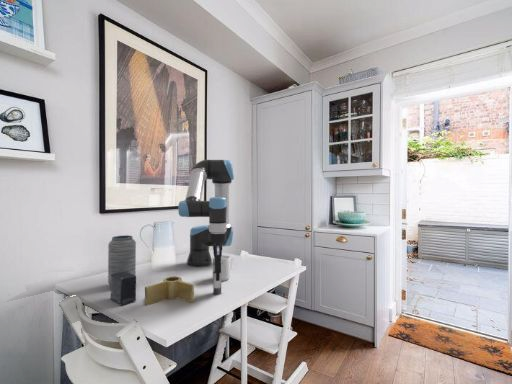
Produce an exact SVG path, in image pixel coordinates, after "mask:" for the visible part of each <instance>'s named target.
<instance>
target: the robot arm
mask: <svg viewBox="0 0 512 384" xmlns="http://www.w3.org/2000/svg"><path fill="white" fill-rule="evenodd" d="M207 180H211V183H212V185H214V197H213V196H212V197H210V198H209V200H202V196H203V191H204V185H205V181H207ZM233 180H235V175H234V166H233V162H232V160H229V159H203V160H200V161H198V162H197V163H196V164H194V166H192V168H191V170H190V172H189V184H188V187H187V192H186V195H185V200H181V201H179V202H178V215H179V217H182V218H183V217H184V218H208V223H209V224H206V225H197V226H194V227H191V228H190V232H189V254H188V257H187V259H186V265H187V266H190V267H205V266H209V265H212V264H213V258H212V256H211V252H210V247H212V250H213V251H212V253H213V257H214V260H215V272H213V271H212V274H213V273H214V288H221V289H222V281H221V269H222V267H221V256H222V255H223V247H230V246H231V245H232V243H233V237H234V227H232V224H231V223H230V209H229V208H230V185H231V184H232V182H233Z"/></svg>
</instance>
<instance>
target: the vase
mask: <svg viewBox="0 0 512 384" xmlns="http://www.w3.org/2000/svg"><path fill="white" fill-rule="evenodd" d="M136 247H137V243H136V240H135V239H134V238H133V235H128V234H126V235H116V236H112V238H111V240H110V241H109V242H108V246H107V248H108V250H107V251H108V252H107V253H108V254H107V255H108V256H107V260H108V261H107V264H108V265H107V269H108V270H107V283H108V284H109V286H111V274H113V273H119V272H125V271H126V272H128V273H130V274H133V275H135V276H136V277H137V275H136V272H137V271H136V269H137V268H136V265H137V264H136V262H137V261H136V260H137V259H136V258H137V257H136V256H137V252H136V251H137V250H136V249H137V248H136Z"/></svg>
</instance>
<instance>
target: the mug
mask: <svg viewBox="0 0 512 384" xmlns="http://www.w3.org/2000/svg"><path fill="white" fill-rule="evenodd" d="M233 259H234V258H233V257H230V255H223V254H222V256H221V260H222V265H221V267H222V269H221V282H225V281H228V280H229V279H230V278H231V271H232V269H233V264H234V263H233V261H234V260H233ZM213 261H214V256H213V257H212V262H213Z"/></svg>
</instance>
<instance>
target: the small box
mask: <svg viewBox="0 0 512 384" xmlns="http://www.w3.org/2000/svg"><path fill="white" fill-rule="evenodd" d="M136 297H137V275H136V276H135V275H133V274H130V273H128V272H126V271H125V272H119V273H113V274H111V285H110V297H109V298H110V300H111V301H113V302H114V303H116V304H117V305H118V306H121V307H122V306H124V305H127V304H131V303H135V302H136V301H137V299H136Z"/></svg>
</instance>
